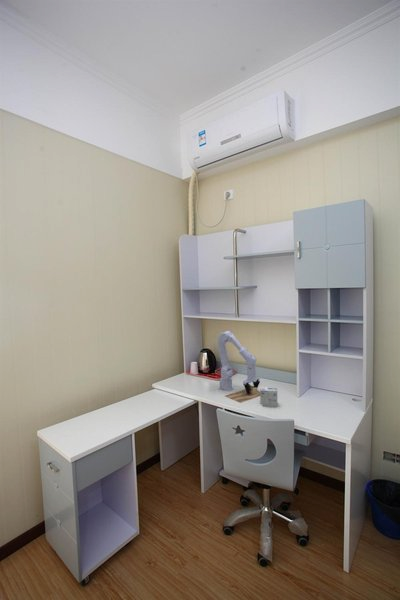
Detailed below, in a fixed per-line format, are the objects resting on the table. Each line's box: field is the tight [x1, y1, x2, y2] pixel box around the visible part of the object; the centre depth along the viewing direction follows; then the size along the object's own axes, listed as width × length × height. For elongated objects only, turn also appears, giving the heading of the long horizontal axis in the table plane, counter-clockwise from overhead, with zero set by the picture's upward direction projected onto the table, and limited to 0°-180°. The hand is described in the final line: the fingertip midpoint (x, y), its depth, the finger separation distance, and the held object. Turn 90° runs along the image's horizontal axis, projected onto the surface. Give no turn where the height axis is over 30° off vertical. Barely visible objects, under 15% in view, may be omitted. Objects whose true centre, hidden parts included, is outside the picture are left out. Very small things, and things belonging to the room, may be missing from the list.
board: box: [224, 388, 260, 404], centre depth 212 cm, size 16×24×1 cm, turn 127°
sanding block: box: [250, 385, 258, 395], centre depth 216 cm, size 7×4×4 cm, turn 37°
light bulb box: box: [259, 386, 278, 408], centre depth 197 cm, size 11×7×11 cm, turn 74°
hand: (251, 392), depth 216 cm, fingers open, 7 cm apart
